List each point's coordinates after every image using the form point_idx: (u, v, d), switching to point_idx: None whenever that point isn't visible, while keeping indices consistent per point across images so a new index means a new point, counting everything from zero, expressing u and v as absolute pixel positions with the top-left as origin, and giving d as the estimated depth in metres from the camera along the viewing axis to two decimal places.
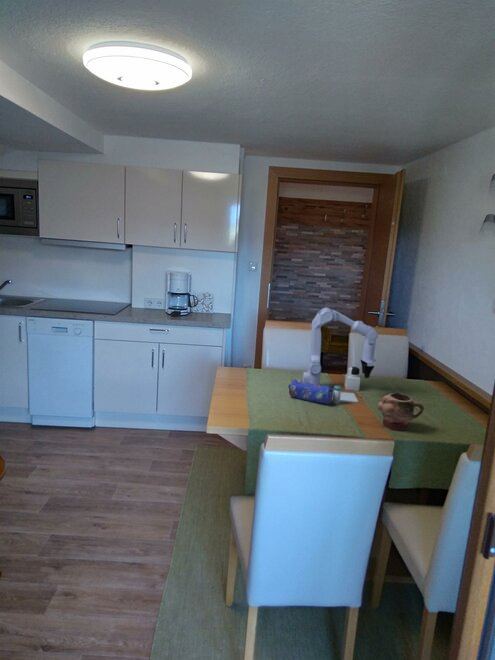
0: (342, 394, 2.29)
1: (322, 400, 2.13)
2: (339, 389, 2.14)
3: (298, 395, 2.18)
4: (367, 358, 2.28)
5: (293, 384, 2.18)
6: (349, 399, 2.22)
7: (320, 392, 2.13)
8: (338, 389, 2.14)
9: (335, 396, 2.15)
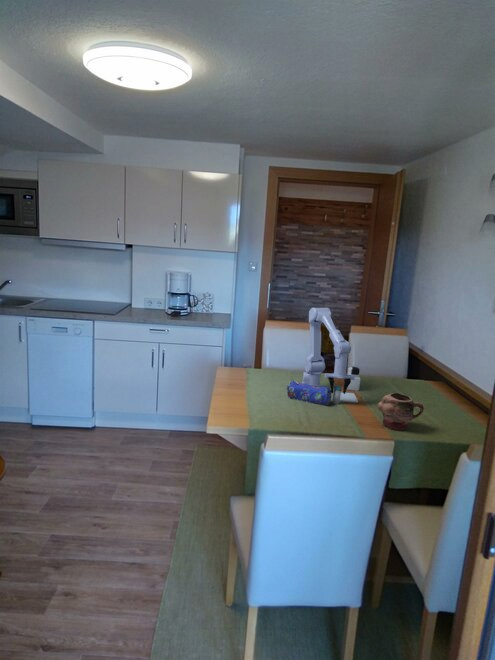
0: (342, 394, 2.29)
1: (321, 401, 2.13)
2: (339, 389, 2.14)
3: (297, 396, 2.17)
4: (334, 372, 2.15)
5: (291, 386, 2.18)
6: (349, 399, 2.22)
7: (319, 393, 2.13)
8: (338, 389, 2.14)
9: (335, 396, 2.15)
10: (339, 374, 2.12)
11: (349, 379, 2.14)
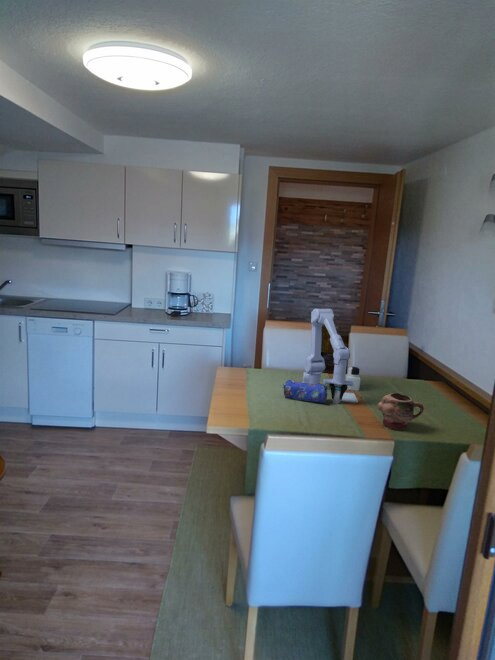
0: None
1: (318, 399, 2.13)
2: (339, 389, 2.14)
3: (293, 395, 2.17)
4: (333, 378, 2.16)
5: (288, 384, 2.17)
6: (349, 399, 2.22)
7: (316, 391, 2.14)
8: (338, 389, 2.14)
9: (335, 396, 2.15)
10: (338, 380, 2.12)
11: (348, 385, 2.15)
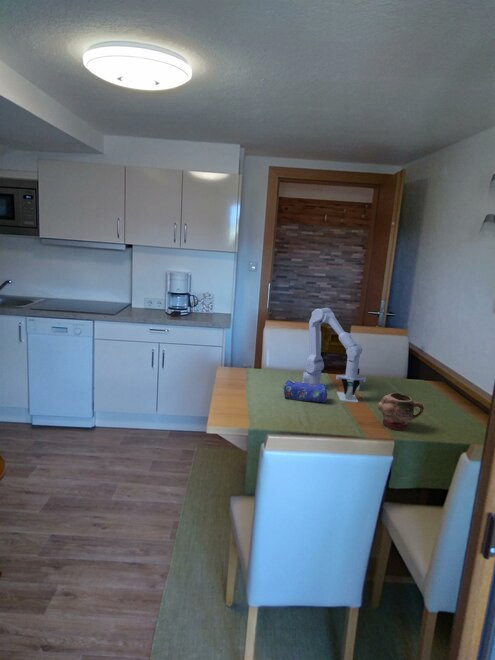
0: (342, 394, 2.29)
1: (319, 399, 2.14)
2: (351, 385, 2.20)
3: (294, 396, 2.16)
4: None
5: (288, 385, 2.16)
6: None
7: (316, 391, 2.14)
8: (350, 385, 2.20)
9: (348, 391, 2.21)
10: (350, 376, 2.18)
11: None
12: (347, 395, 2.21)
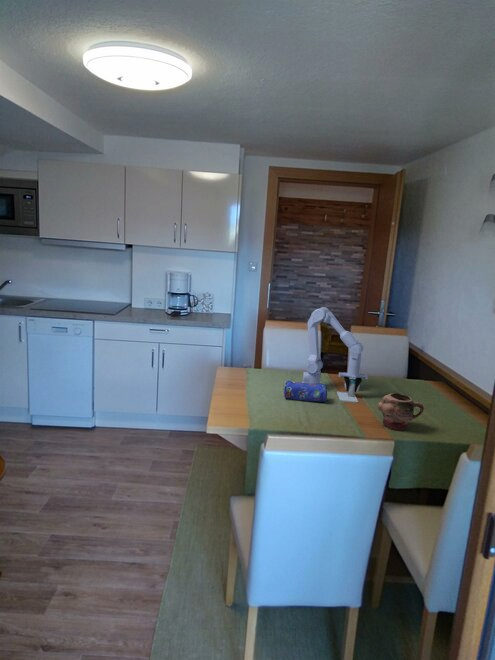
0: (342, 394, 2.29)
1: (319, 398, 2.15)
2: (354, 382, 2.24)
3: (294, 396, 2.16)
4: None
5: (289, 385, 2.15)
6: (349, 399, 2.22)
7: (317, 391, 2.15)
8: (353, 382, 2.24)
9: (350, 389, 2.26)
10: (353, 373, 2.23)
11: (362, 378, 2.25)
12: (349, 392, 2.26)
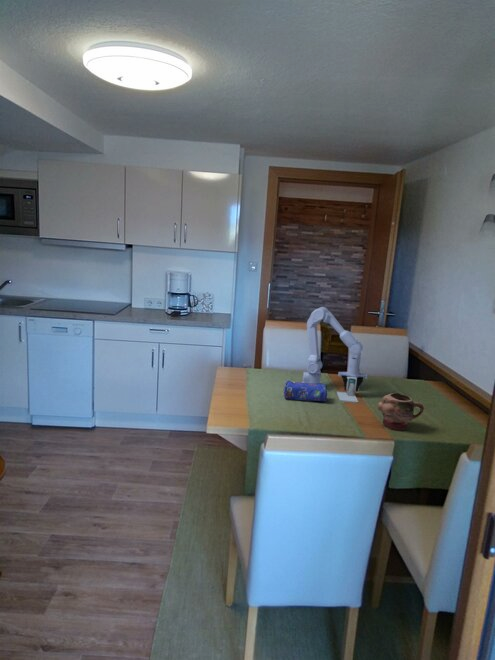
0: (342, 394, 2.29)
1: (320, 398, 2.15)
2: (353, 382, 2.26)
3: (295, 396, 2.16)
4: (347, 371, 2.27)
5: (289, 386, 2.15)
6: (349, 399, 2.22)
7: (317, 390, 2.15)
8: (352, 382, 2.25)
9: (349, 388, 2.27)
10: (352, 373, 2.24)
11: (362, 378, 2.26)
12: (349, 392, 2.27)
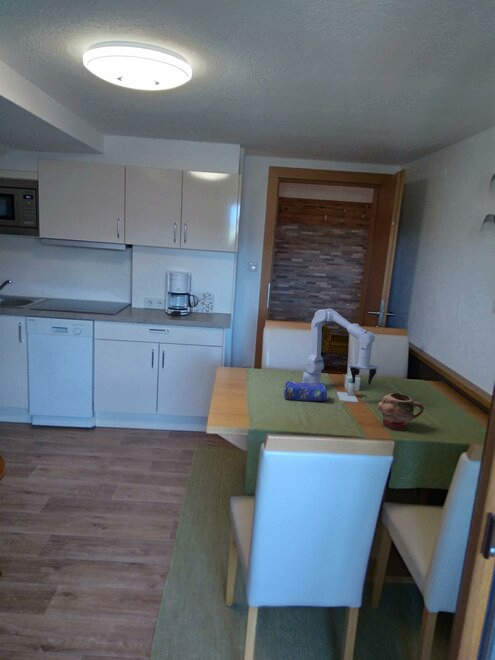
0: (342, 394, 2.29)
1: (320, 398, 2.16)
2: None
3: (295, 396, 2.16)
4: None
5: (290, 386, 2.15)
6: (349, 399, 2.22)
7: (317, 390, 2.15)
8: (352, 382, 2.25)
9: (349, 388, 2.27)
10: (363, 364, 2.13)
11: (373, 369, 2.15)
12: (349, 392, 2.27)
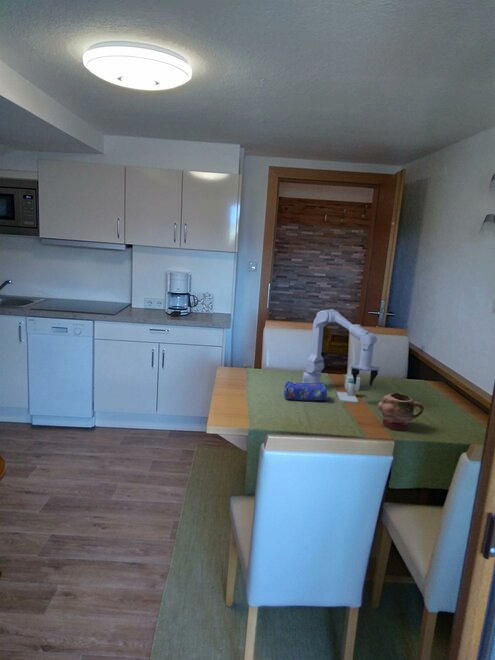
0: (342, 394, 2.29)
1: (320, 397, 2.16)
2: (353, 382, 2.26)
3: (296, 396, 2.15)
4: (359, 363, 2.15)
5: (290, 386, 2.14)
6: (349, 399, 2.22)
7: (318, 390, 2.16)
8: (352, 382, 2.25)
9: (349, 388, 2.27)
10: (364, 366, 2.11)
11: (374, 371, 2.13)
12: (349, 392, 2.27)
